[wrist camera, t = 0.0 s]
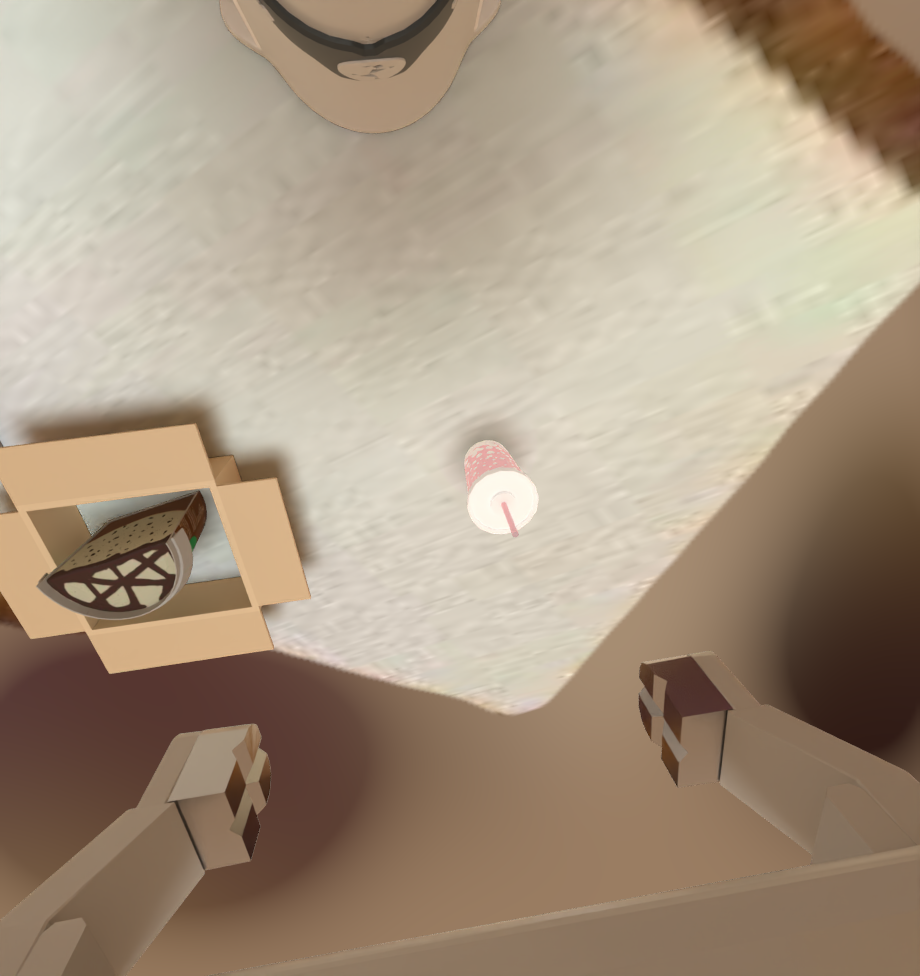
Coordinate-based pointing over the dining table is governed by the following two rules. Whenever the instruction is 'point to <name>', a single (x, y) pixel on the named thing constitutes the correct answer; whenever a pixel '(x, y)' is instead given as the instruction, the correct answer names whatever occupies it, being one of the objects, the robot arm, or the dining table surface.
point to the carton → (133, 473)
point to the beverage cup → (498, 489)
